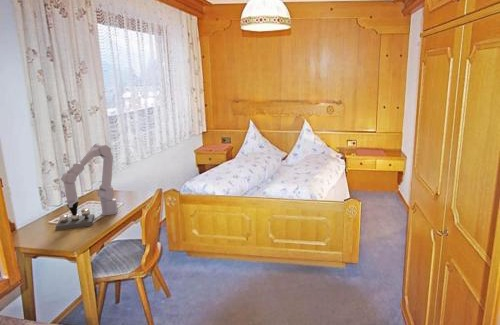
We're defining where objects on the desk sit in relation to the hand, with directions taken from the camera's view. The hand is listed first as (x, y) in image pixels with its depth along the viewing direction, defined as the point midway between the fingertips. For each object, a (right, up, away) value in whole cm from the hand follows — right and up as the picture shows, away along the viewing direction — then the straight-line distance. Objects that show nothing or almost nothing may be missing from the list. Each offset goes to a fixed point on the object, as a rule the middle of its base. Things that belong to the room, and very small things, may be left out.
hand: (74, 214), depth 220 cm
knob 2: (+6, -3, +2) cm, 7 cm away
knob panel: (0, -5, +1) cm, 6 cm away
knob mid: (0, -5, +1) cm, 6 cm away
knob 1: (-6, -6, 0) cm, 8 cm away
